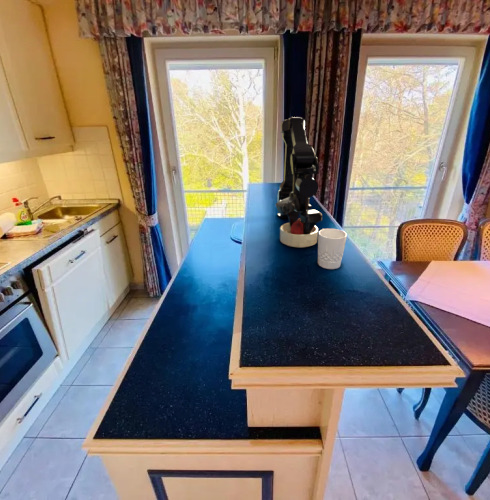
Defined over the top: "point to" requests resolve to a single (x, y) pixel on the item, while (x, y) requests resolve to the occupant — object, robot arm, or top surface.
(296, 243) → the bowl
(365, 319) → the top surface
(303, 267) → the top surface
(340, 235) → the white cup
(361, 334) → the top surface
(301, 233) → the onion
